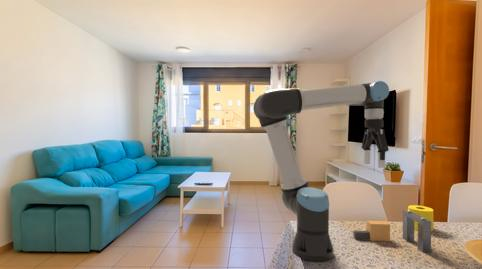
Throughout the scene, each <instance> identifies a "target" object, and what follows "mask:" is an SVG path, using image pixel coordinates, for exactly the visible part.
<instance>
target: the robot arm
mask: <svg viewBox="0 0 482 269" xmlns="http://www.w3.org/2000/svg"><path fill="white" fill-rule="evenodd" d="M389 94H390V88H389V85H388V84H387V83H386V82H385V81H382V80H376V81H373V82H368V83H358V84H348V85H339V86H329V87H321V88H320V87H319V88H311V89H300V88H299V87H295V88H294V87H293V88H291V87H290V88H272V89H270V90H267V91H265V92H264V93H263V94H260V95H259V96H258V97H257V98H256V100H255V101H254V103H253V107H252V108H253V114H254V116H255V117H256V119H258V121H259V122H258V123H259V126H260V127H261V129H263V130H265V131H266V134H267V137H268V140H269V143H270V146H271V150H272V153H273V156H274V159H275V162H276V165H277V169H278V172H279V174H280V177H281V180H282V183H281V186H280V188H281V191H282V193H281V199H282V202H283V204H284V206H285V207H286V209H288V210H289V211H291V212H292V213H293V214H294V215H295V216H296V232H295V235H294V237H293V241H292V245H291V247H292V248H291V249H292V253H293V254H294V255H295V256H296V257H298V258H299V259H302V260H305V261H309V262H313V263H314V262H316V263H317V262H318V263H319V262H328V261H330V260H332V259H333V258H334V256H335V254H334V251H335V250H334V247H333V243H332V240H331V236H330V232H329V228H330V219H329V218H330V217H329V216H330V215H329V213H330V200H329V198H330V197H329V195H328V193H327V192H326V191H324V190H323V189H320V188H316V187H310V185H309V182H308V179H307V178H306V177H303V175H302V172H301V169H300V166H299V163H298V160H297V157H296V154H295V151H294V147H293V143H292V141H291V138H290V135H289V132H288V128H287V125H286V124H287V122H288V116H291V115H296V114H297V115H298V114H301V113H302V111H306V110H314V109H315V110H316V109H323V108H332V107H341V106H347V107H348V106H364V119H365V120H364V127H365V128H367V129H364V134H363V138H362V144H361V149H362V150H363V164H364V165H370V164H371V146H372V144H373V143H374V142H375V145H376V147H377V168H379V169H384V168H385V169H386V153H387V152H389V147H388V143H387V138H386V135H385V129H383V128H384V119H383V118H384V113H385V111H384V104H385V103H384V100H385V99H387V98H388V97H389ZM373 141H374V142H373Z"/></svg>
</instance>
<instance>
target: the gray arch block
mask: <svg viewBox="0 0 482 269" xmlns="http://www.w3.org/2000/svg"><path fill="white" fill-rule="evenodd" d="M414 220H415V221H417V222H418V230H417V250H418V251H420V252H421V253H427V254H428V253H430V254H431V253H432V231H431V221H430V220H428V219H426V218H424V217H422V216H420V215H418V214H416V213H414V212H412V211H409V210H408V209H407V210H402V239H403V240H404V241H406V242H415V229H414Z"/></svg>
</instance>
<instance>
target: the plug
mask: <svg viewBox="0 0 482 269" xmlns="http://www.w3.org/2000/svg"><path fill="white" fill-rule="evenodd" d="M365 222H366V230H353V231H352V233H353V234H352V236H353V237H354V238H355V239H354V238H353V239H354V240H366V241H367V240H369V241H373V242H374V241H375V242H376V241H377V242H379V241H381V242H390V241H391V224H390V223H389V222H387V221H386V220H366V221H365Z"/></svg>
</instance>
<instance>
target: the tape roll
mask: <svg viewBox="0 0 482 269" xmlns="http://www.w3.org/2000/svg"><path fill="white" fill-rule="evenodd" d="M407 210H409V211H412V212H414V213H416V214H418V215H420V216H422V217H424V218H426V219H428V220H430V221H431V232H434V209H433V208H431V207H429V206H424V205H416V204H413V205H411V204H410V205H408V207H407ZM414 231H418V222H417V221H415V220H414Z"/></svg>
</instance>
